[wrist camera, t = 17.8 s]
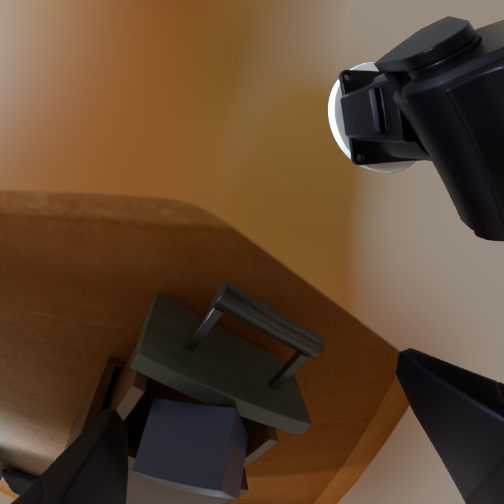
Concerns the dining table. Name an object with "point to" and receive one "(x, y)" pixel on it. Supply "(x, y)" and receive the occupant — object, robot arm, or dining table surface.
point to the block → (193, 448)
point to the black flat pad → (18, 480)
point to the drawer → (216, 367)
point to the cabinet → (139, 487)
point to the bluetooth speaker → (0, 470)
